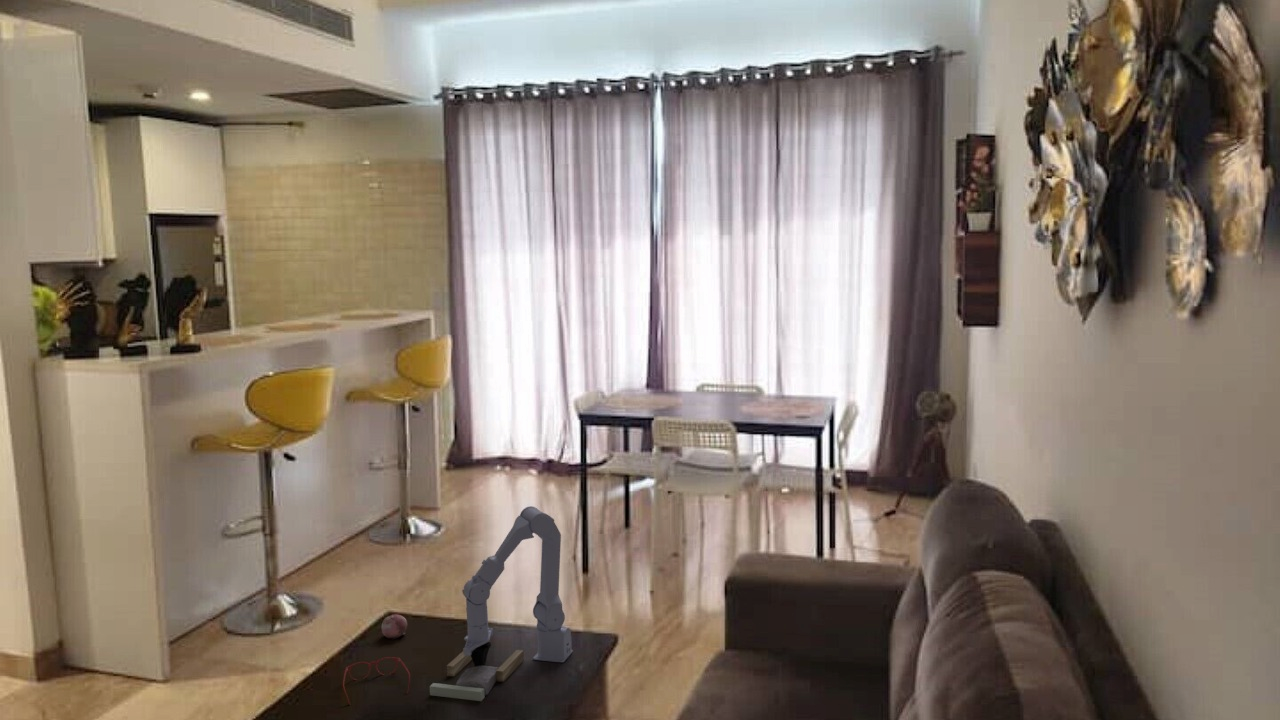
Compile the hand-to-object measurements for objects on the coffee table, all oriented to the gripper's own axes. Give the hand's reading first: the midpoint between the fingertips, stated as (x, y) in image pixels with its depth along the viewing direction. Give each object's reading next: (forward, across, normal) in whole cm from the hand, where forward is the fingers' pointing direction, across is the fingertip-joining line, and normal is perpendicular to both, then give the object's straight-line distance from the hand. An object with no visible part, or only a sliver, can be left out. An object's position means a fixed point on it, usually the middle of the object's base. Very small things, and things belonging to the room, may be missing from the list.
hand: (480, 669), depth 259 cm
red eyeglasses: (+2, +14, -24) cm, 28 cm away
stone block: (+2, +7, +2) cm, 7 cm away
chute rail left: (+1, -4, -8) cm, 8 cm away
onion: (+2, -18, -38) cm, 42 cm away
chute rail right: (+1, -4, +8) cm, 8 cm away
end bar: (+1, +14, 0) cm, 14 cm away
